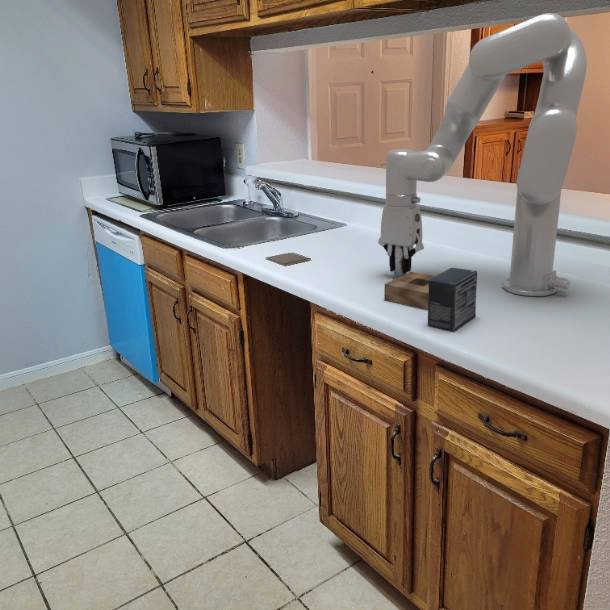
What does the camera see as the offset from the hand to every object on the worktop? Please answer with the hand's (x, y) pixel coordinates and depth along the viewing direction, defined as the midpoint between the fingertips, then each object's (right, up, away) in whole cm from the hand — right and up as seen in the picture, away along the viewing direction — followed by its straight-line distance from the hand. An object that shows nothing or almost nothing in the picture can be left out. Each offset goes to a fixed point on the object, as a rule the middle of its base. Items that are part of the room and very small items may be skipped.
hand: (400, 270), depth 157 cm
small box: (+6, -13, -28) cm, 31 cm away
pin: (0, -2, +1) cm, 2 cm away
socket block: (+2, -7, -14) cm, 16 cm away
